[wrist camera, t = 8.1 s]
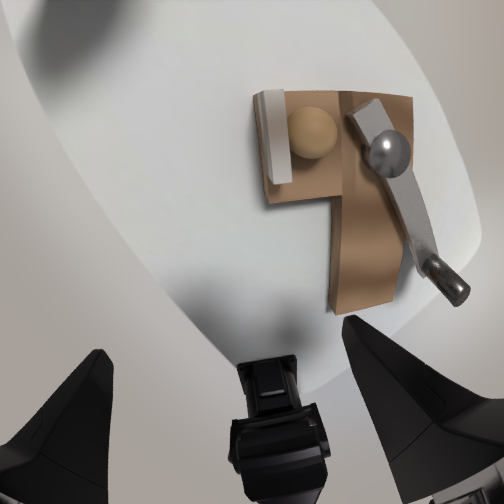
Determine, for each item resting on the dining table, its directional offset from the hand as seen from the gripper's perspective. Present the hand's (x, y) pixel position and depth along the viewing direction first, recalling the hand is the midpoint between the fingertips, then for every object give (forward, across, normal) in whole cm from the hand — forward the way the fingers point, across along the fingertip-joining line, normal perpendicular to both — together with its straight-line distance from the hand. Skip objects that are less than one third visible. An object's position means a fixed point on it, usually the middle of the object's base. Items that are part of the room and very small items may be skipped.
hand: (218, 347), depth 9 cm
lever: (+10, -14, 0) cm, 17 cm away
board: (+12, -9, +1) cm, 15 cm away
